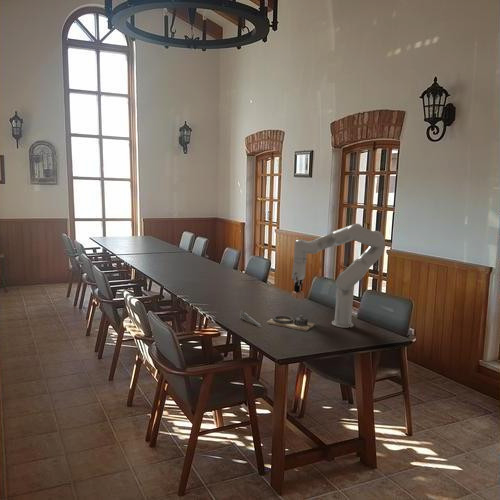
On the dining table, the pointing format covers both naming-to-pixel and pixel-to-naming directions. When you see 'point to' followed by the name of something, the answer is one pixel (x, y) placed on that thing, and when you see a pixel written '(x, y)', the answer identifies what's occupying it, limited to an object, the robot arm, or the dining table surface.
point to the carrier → (291, 322)
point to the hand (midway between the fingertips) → (298, 290)
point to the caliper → (243, 314)
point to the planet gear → (298, 293)
